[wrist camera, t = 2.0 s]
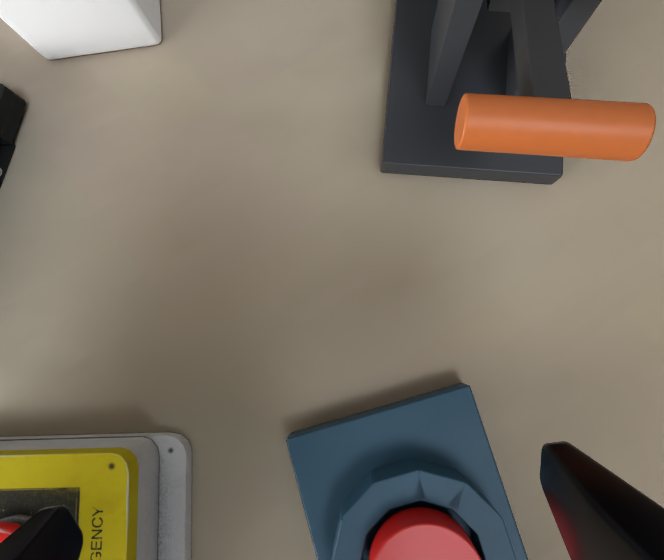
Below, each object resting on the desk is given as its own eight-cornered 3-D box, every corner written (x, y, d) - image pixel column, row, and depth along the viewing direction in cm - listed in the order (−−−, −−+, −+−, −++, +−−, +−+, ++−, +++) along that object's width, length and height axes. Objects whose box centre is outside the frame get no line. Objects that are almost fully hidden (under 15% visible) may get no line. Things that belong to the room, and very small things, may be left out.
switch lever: (620, 181, 13) (673, 120, 11) (451, 170, 14) (470, 108, 11) (574, -28, 18) (605, -100, 16) (449, -32, 18) (463, -103, 16)
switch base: (552, 185, 23) (690, 70, 13) (380, 173, 24) (395, 55, 14) (557, -3, 25) (685, -227, 15) (396, -9, 25) (419, -227, 16)
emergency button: (146, 708, 17) (-220, 705, 18) (190, 632, 21) (-106, 633, 22) (152, 452, 18) (-189, 460, 19) (192, 431, 22) (-87, 439, 23)
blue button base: (548, 640, 20) (587, 701, 17) (359, 693, 20) (359, 765, 17) (462, 382, 22) (481, 389, 19) (290, 432, 22) (277, 449, 19)
